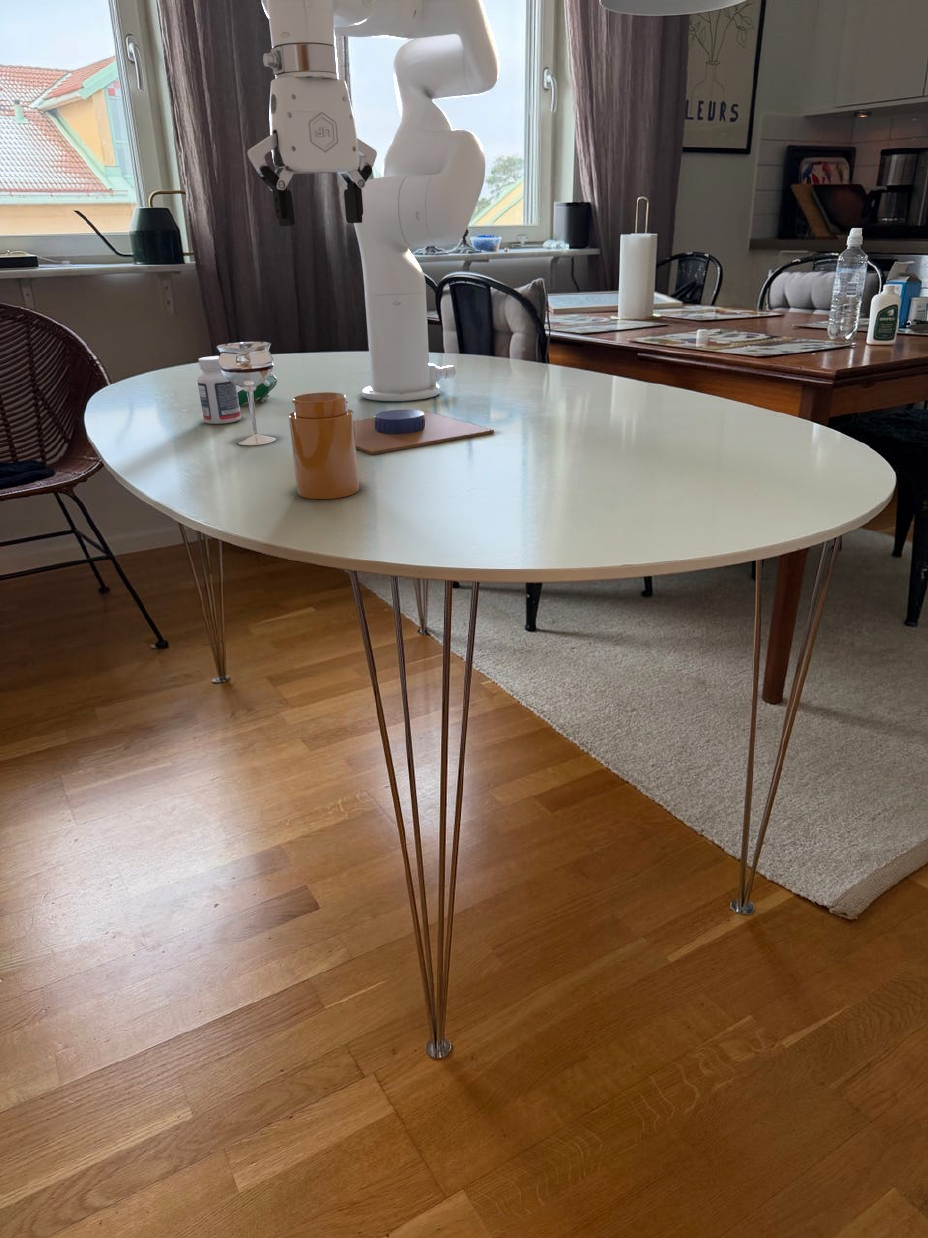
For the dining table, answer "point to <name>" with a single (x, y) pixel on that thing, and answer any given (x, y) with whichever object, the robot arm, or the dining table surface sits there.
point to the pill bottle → (217, 393)
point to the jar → (324, 446)
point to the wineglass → (247, 375)
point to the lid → (399, 421)
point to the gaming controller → (259, 391)
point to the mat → (414, 434)
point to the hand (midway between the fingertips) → (321, 224)
